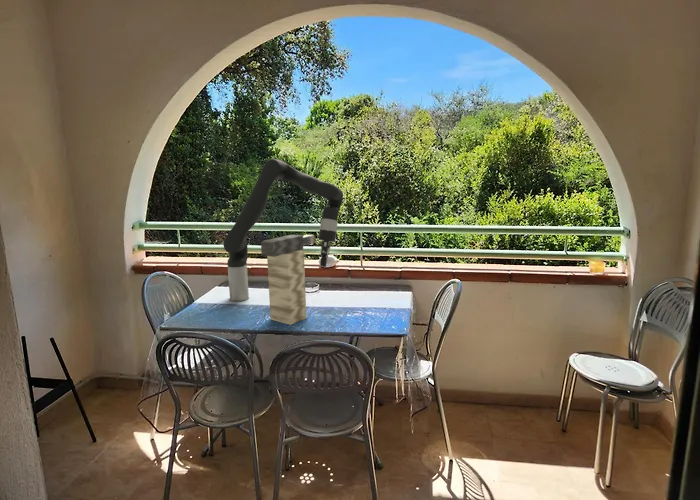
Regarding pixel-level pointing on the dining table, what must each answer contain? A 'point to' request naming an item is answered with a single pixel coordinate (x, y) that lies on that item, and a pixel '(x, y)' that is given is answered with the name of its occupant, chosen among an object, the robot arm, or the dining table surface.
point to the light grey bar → (308, 239)
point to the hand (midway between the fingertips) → (322, 266)
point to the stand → (286, 278)
